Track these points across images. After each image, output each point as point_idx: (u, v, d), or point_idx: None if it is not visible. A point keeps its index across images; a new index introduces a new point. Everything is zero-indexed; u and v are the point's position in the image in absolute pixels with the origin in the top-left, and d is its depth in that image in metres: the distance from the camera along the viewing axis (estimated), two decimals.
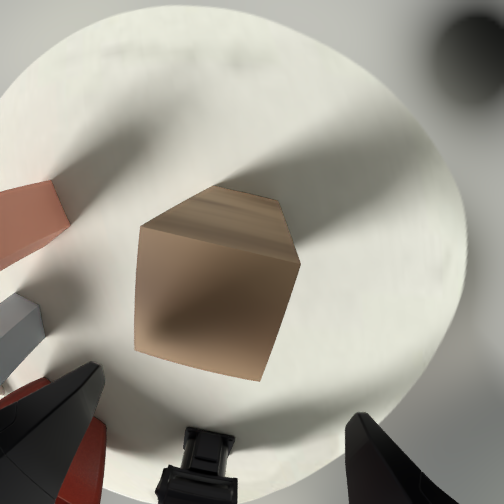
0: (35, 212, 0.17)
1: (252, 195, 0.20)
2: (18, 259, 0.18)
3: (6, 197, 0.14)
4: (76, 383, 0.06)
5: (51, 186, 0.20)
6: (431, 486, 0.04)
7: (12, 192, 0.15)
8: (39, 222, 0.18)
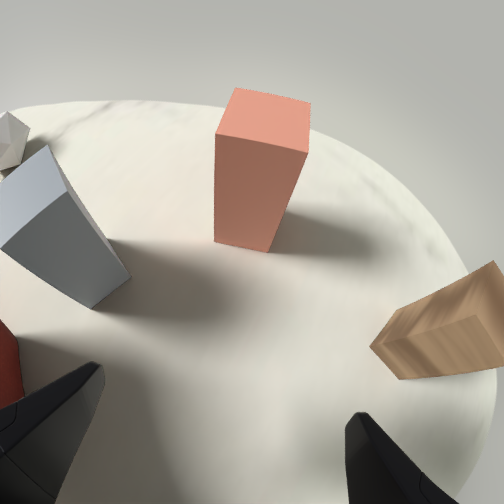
0: None
1: None
2: (222, 217, 0.21)
3: None
4: (76, 383, 0.06)
5: None
6: (431, 486, 0.04)
7: None
8: None
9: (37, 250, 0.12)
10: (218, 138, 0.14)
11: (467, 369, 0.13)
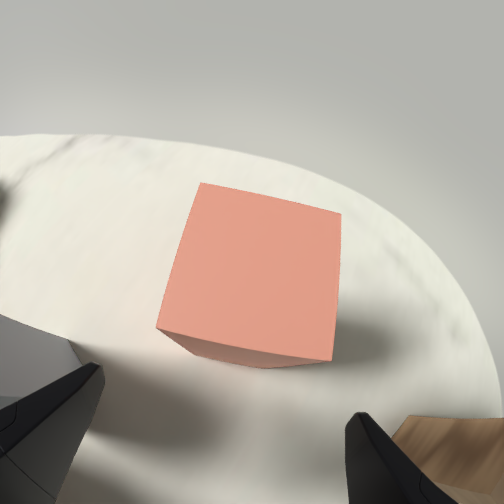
0: None
1: None
2: (198, 352, 0.15)
3: None
4: (76, 383, 0.06)
5: None
6: (431, 486, 0.04)
7: None
8: None
9: None
10: (163, 330, 0.07)
11: None
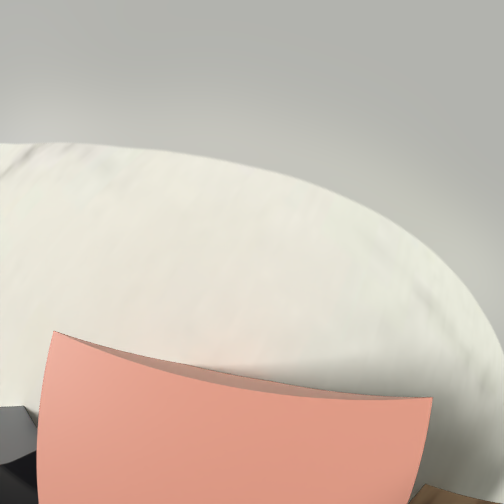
0: None
1: None
2: None
3: None
4: None
5: None
6: None
7: None
8: None
9: None
10: None
11: None
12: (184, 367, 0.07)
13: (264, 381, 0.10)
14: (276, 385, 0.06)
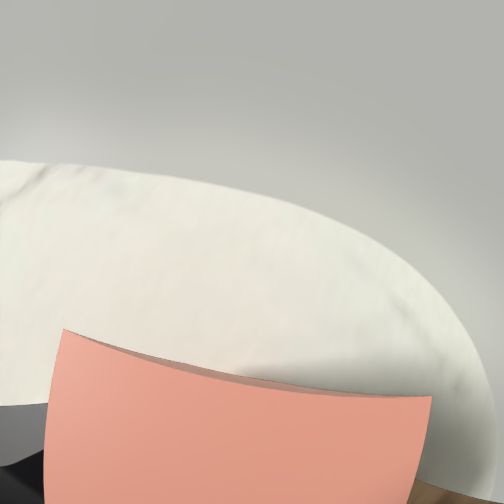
0: None
1: None
2: None
3: None
4: None
5: None
6: None
7: None
8: None
9: None
10: None
11: None
12: (188, 366, 0.07)
13: (267, 381, 0.10)
14: None
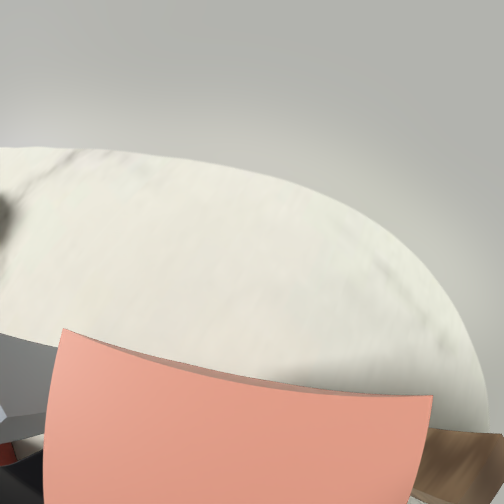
0: None
1: None
2: None
3: None
4: None
5: None
6: None
7: None
8: None
9: (4, 437, 0.07)
10: None
11: None
12: (188, 366, 0.07)
13: (267, 381, 0.10)
14: (279, 384, 0.06)
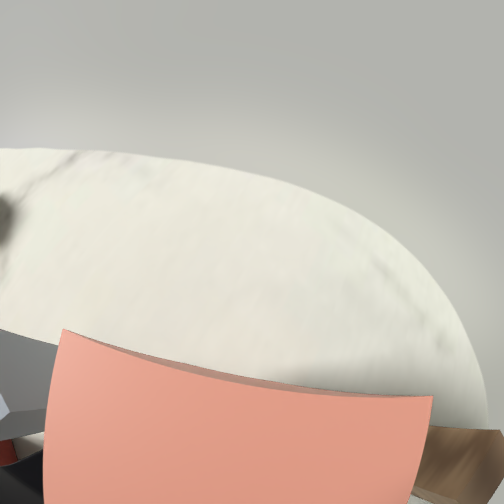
0: None
1: None
2: None
3: None
4: None
5: None
6: None
7: None
8: None
9: (6, 433, 0.07)
10: None
11: None
12: (188, 366, 0.07)
13: (267, 381, 0.10)
14: (279, 384, 0.06)
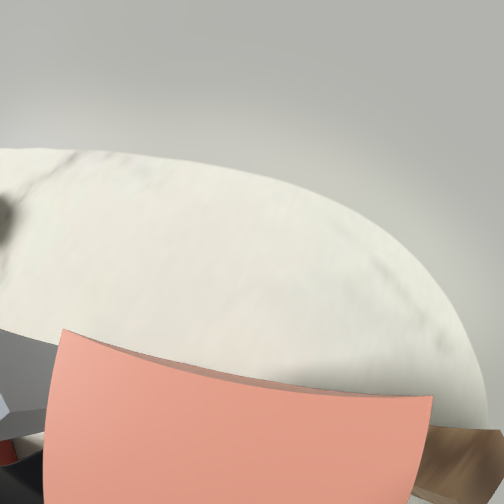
0: None
1: None
2: None
3: None
4: None
5: None
6: None
7: None
8: None
9: (6, 433, 0.07)
10: None
11: None
12: (188, 366, 0.07)
13: (267, 381, 0.10)
14: (279, 384, 0.06)
